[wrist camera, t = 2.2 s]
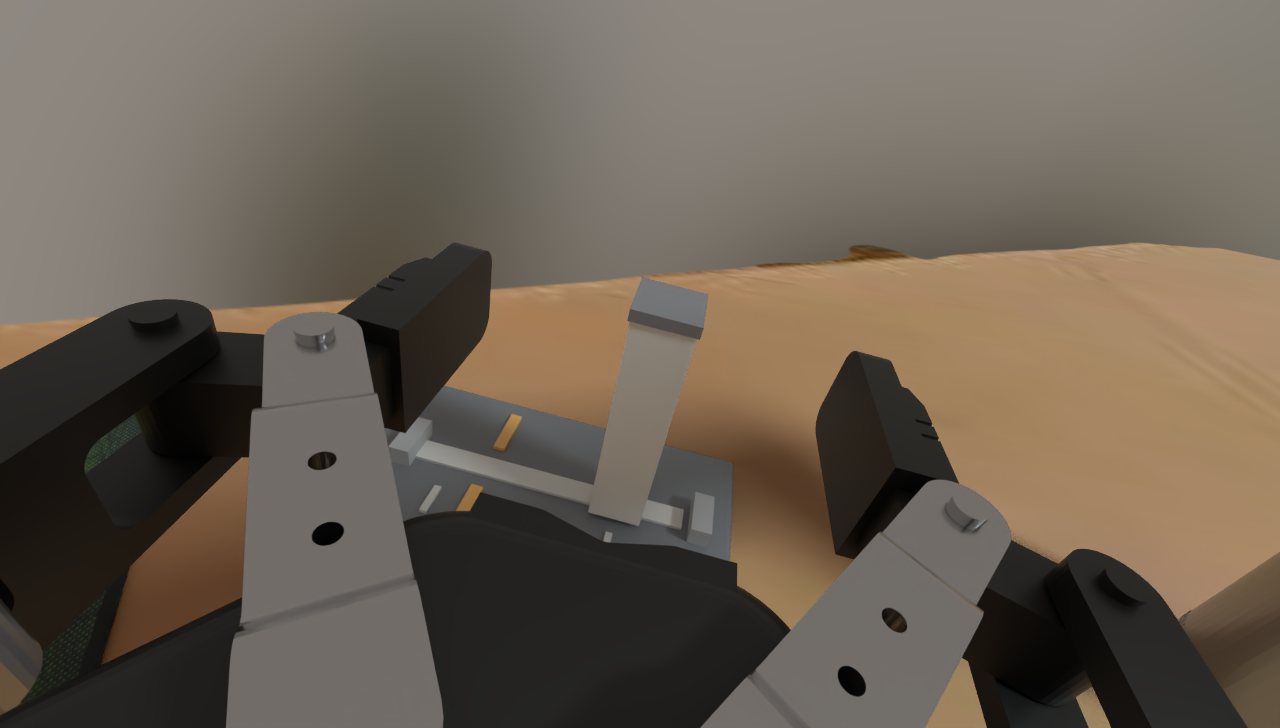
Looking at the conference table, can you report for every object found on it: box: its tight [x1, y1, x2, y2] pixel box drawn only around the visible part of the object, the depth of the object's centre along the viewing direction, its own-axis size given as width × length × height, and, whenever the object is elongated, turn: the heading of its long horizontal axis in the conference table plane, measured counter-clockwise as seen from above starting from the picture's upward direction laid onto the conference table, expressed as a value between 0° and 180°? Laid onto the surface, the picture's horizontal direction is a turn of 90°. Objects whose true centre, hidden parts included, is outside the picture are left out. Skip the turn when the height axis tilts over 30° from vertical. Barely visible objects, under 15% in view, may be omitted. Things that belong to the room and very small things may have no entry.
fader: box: [588, 277, 708, 526], centre depth 28 cm, size 3×3×14 cm
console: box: [385, 386, 733, 561], centre depth 32 cm, size 22×12×4 cm, turn 80°
